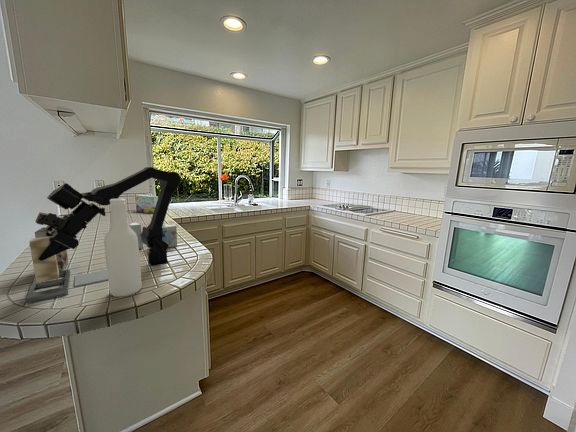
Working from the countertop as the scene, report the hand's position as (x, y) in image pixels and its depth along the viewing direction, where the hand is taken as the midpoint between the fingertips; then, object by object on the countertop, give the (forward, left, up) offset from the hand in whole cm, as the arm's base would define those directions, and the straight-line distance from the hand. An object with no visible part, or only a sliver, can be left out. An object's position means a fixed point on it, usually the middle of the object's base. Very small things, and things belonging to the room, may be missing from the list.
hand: (38, 257), depth 77 cm
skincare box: (-30, -34, -11) cm, 47 cm away
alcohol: (-20, +15, -11) cm, 28 cm away
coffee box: (-1, -21, -11) cm, 24 cm away
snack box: (-54, -141, -12) cm, 152 cm away
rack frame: (-1, -2, -11) cm, 12 cm away
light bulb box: (-42, -29, -12) cm, 53 cm away
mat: (-12, -3, -11) cm, 17 cm away
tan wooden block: (-1, 0, -7) cm, 7 cm away
